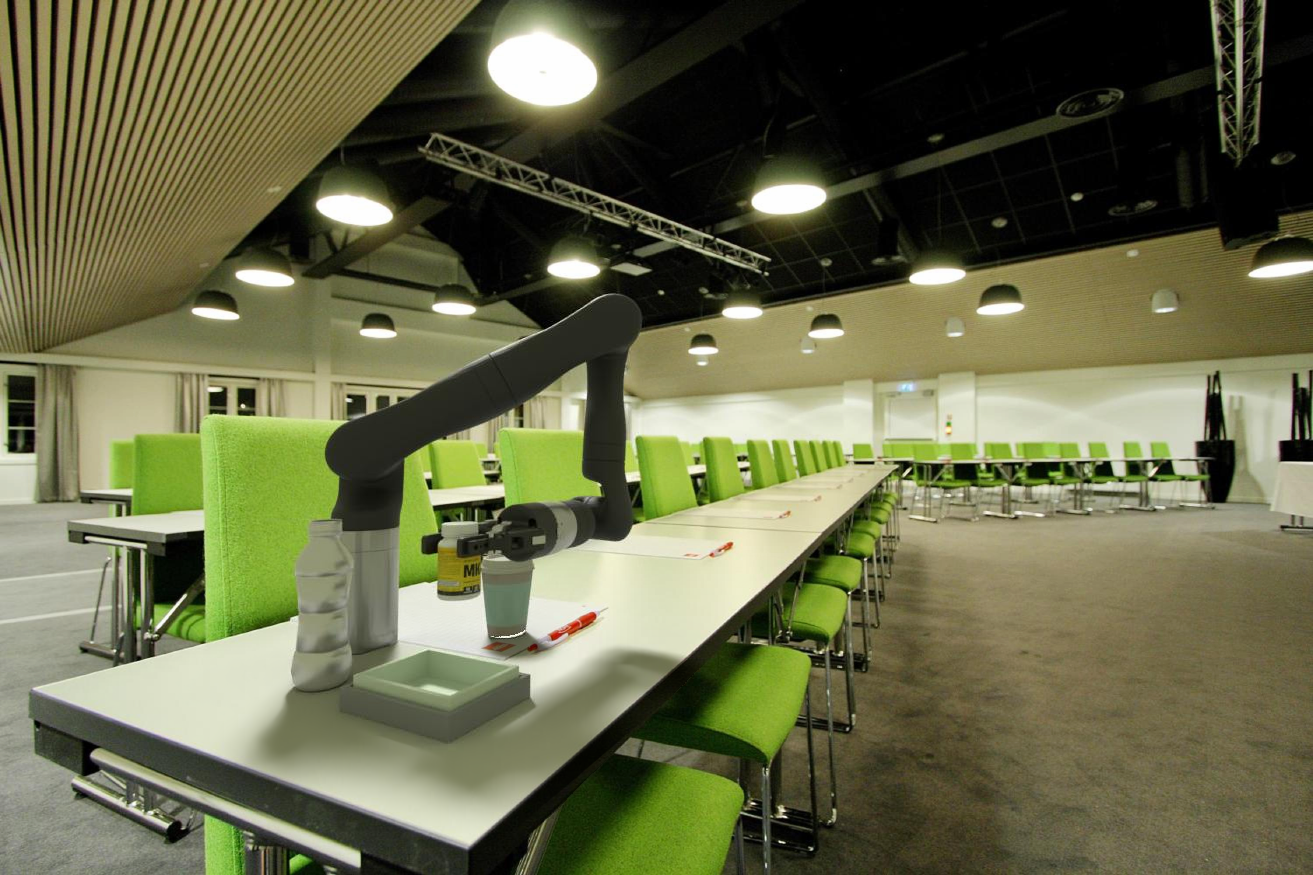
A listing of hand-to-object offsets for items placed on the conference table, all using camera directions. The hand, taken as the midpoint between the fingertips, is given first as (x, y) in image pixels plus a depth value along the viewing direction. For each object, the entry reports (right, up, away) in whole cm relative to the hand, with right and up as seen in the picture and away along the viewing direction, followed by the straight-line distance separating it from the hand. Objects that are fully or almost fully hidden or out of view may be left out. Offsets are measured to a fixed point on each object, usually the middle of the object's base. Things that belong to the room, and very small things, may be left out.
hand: (441, 546), depth 64 cm
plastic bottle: (-17, -18, +6) cm, 25 cm away
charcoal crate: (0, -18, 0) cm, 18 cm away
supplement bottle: (+1, -6, +2) cm, 7 cm away
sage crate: (0, -17, 0) cm, 17 cm away
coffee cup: (0, -19, +28) cm, 34 cm away
